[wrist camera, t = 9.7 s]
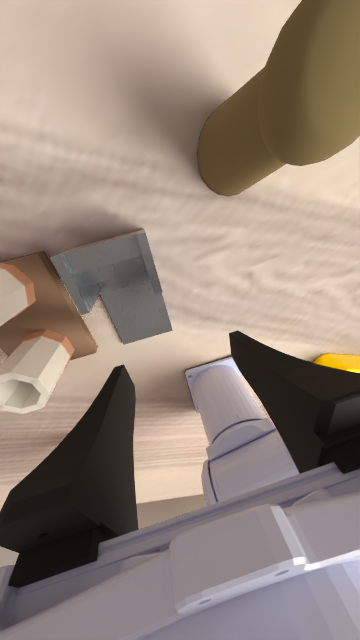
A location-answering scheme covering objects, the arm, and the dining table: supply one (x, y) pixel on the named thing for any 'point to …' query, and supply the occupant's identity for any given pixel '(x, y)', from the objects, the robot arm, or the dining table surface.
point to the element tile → (340, 361)
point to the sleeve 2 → (33, 371)
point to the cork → (289, 101)
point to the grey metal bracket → (117, 283)
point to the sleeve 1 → (14, 292)
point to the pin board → (46, 310)
